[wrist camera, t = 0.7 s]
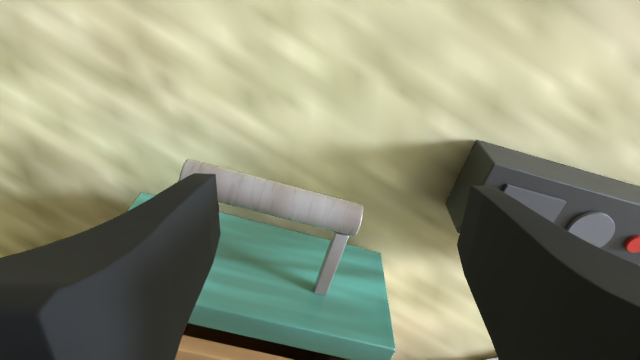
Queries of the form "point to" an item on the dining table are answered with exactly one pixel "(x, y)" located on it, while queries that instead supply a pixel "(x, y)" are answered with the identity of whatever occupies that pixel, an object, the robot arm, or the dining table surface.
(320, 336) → the drawer
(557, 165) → the remote
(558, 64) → the dining table surface
